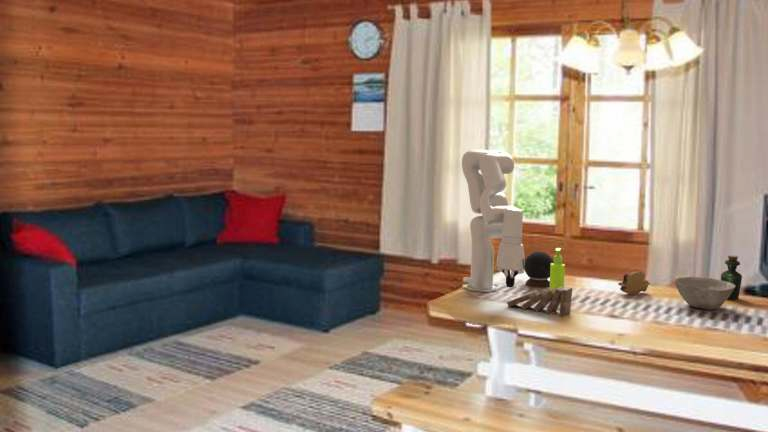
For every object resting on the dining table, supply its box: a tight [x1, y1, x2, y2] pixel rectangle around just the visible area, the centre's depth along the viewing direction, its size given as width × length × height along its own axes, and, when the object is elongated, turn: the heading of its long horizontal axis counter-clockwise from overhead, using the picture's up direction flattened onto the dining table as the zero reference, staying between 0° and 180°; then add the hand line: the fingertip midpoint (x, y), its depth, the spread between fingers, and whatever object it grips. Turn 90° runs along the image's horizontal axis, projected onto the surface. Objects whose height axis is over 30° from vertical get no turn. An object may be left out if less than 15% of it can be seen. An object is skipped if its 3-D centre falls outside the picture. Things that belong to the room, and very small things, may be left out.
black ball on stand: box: [524, 250, 554, 289], centre depth 331 cm, size 13×13×15 cm
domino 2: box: [521, 289, 549, 311], centre depth 287 cm, size 2×6×10 cm
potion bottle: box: [720, 254, 743, 301], centre depth 312 cm, size 8×8×18 cm
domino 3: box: [533, 288, 557, 313], centre depth 284 cm, size 2×6×10 cm
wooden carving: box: [617, 270, 650, 296], centre depth 316 cm, size 16×5×10 cm, turn 123°
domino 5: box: [558, 286, 573, 317], centre depth 280 cm, size 2×6×10 cm, turn 146°
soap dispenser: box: [548, 247, 566, 292], centre depth 311 cm, size 6×7×20 cm
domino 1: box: [506, 291, 537, 308], centre depth 290 cm, size 2×6×10 cm
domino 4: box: [545, 286, 566, 315], centre depth 282 cm, size 2×6×10 cm, turn 147°
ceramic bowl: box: [673, 276, 735, 311], centre depth 296 cm, size 22×23×10 cm
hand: (509, 286), depth 292 cm, fingers closed
